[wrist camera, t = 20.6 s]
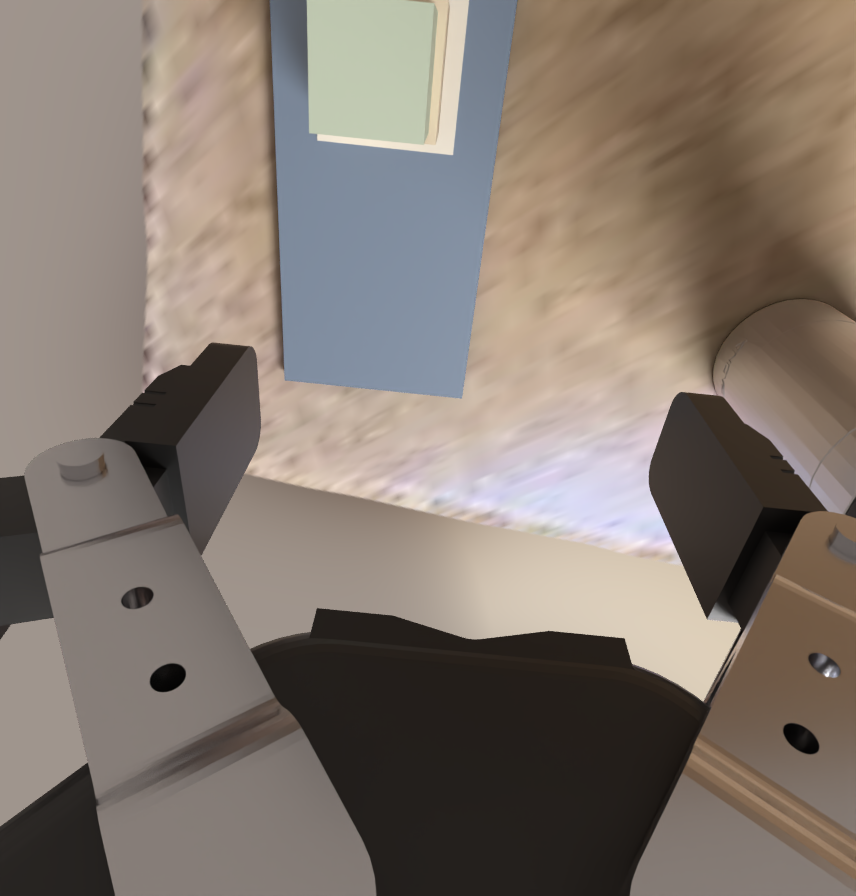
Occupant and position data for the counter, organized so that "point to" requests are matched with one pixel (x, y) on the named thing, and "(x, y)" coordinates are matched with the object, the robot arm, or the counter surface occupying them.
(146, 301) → the counter surface
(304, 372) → the board
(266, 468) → the counter surface
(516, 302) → the counter surface
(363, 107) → the sage block
